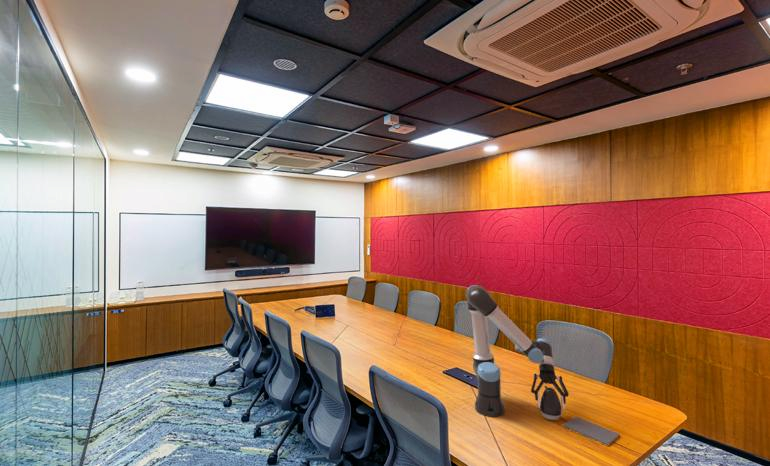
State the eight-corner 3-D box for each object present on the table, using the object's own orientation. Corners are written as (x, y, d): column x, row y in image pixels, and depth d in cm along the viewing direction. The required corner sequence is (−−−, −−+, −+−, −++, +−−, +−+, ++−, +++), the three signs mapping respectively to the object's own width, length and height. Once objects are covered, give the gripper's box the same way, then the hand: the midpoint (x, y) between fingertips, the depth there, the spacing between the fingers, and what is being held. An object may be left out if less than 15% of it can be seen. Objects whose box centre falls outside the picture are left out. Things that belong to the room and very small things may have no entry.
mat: (607, 446, 155) (607, 444, 155) (562, 426, 172) (562, 424, 172) (619, 436, 163) (619, 434, 163) (575, 418, 179) (575, 416, 179)
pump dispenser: (555, 412, 185) (554, 383, 186) (565, 422, 175) (565, 392, 175) (536, 412, 185) (535, 383, 185) (545, 423, 175) (545, 392, 175)
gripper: (568, 371, 192) (575, 414, 176) (523, 367, 198) (526, 408, 183) (570, 365, 187) (577, 408, 171) (524, 361, 193) (527, 402, 178)
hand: (551, 408), depth 177 cm, fingers open, 10 cm apart
